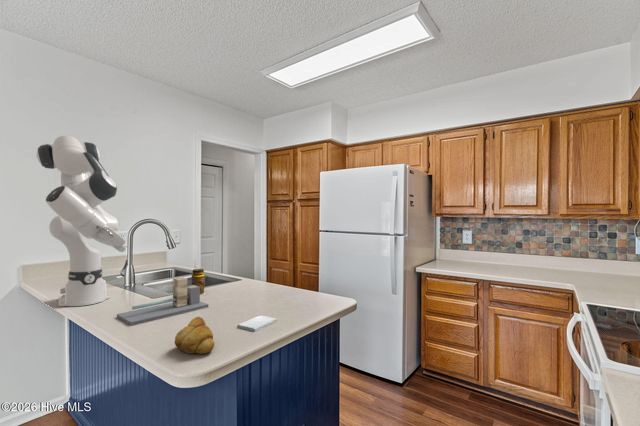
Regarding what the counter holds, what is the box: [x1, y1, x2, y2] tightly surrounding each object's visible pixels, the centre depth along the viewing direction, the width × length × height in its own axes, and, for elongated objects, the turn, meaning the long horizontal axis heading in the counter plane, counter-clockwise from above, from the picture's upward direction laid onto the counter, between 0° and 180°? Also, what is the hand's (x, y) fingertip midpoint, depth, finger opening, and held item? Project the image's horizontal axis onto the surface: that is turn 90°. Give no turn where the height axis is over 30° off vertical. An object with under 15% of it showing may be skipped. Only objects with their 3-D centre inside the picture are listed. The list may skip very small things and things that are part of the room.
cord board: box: [116, 284, 209, 327], centre depth 127 cm, size 14×30×8 cm, turn 140°
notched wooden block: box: [172, 276, 188, 307], centre depth 132 cm, size 4×4×11 cm
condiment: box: [191, 268, 207, 296], centre depth 156 cm, size 7×8×12 cm
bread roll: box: [174, 316, 216, 355], centre depth 93 cm, size 13×10×8 cm
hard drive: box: [236, 314, 278, 332], centre depth 114 cm, size 2×8×12 cm
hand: (122, 250), depth 121 cm, fingers closed
